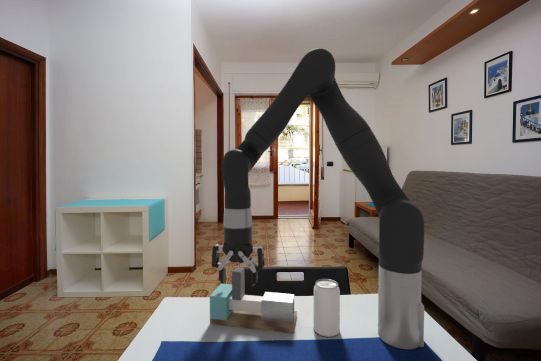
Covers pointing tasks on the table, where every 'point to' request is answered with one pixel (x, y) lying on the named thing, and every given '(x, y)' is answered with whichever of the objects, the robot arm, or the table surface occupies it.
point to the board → (254, 322)
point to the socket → (220, 302)
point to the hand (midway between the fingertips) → (238, 283)
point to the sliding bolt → (242, 294)
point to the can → (326, 308)
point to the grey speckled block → (277, 307)
